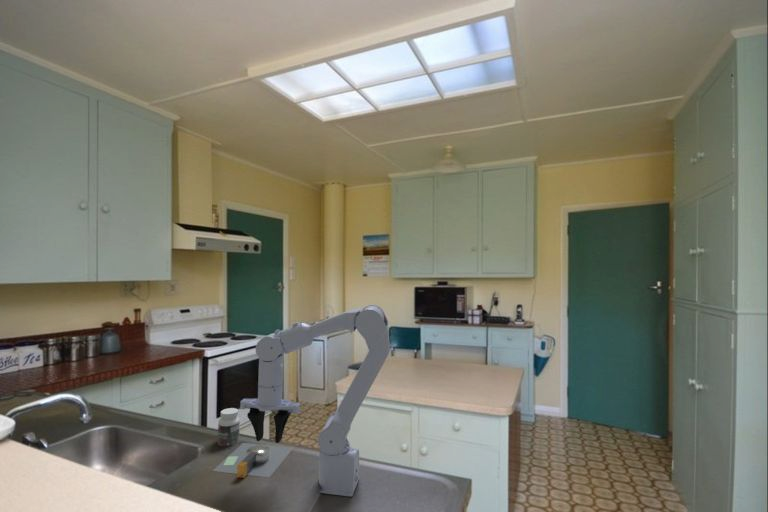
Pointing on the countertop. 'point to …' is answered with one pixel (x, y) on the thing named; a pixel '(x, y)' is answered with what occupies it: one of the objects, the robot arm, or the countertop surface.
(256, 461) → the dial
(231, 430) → the pill bottle
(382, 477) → the countertop surface
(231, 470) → the board
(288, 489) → the countertop surface
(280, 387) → the robot arm
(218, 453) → the countertop surface
